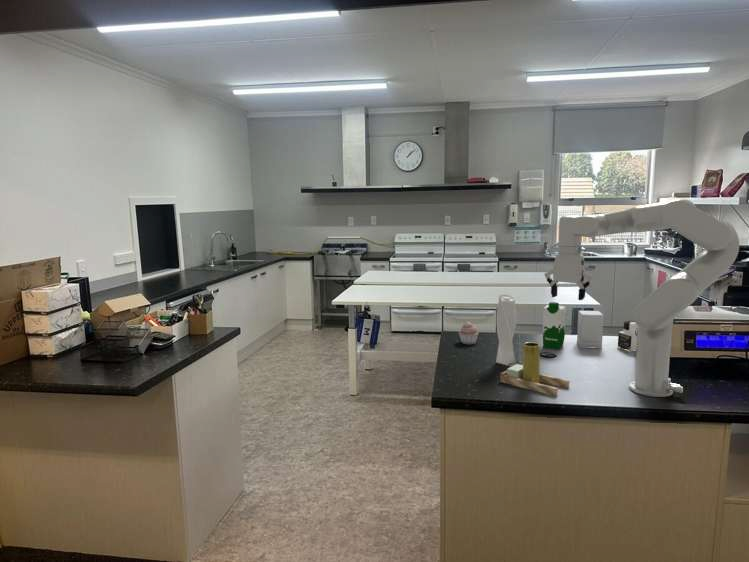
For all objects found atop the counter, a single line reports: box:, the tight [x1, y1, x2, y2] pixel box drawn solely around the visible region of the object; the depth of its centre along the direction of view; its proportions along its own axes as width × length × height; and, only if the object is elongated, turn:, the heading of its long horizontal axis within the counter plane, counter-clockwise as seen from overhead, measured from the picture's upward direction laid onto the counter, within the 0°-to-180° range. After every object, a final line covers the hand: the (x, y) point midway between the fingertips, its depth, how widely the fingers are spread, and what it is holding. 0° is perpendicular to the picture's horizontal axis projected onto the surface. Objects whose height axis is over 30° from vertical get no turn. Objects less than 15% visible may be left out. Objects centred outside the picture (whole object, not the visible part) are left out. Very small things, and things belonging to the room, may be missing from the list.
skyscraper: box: [495, 294, 522, 368], centre depth 190 cm, size 8×8×28 cm
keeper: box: [506, 364, 523, 379], centre depth 173 cm, size 4×7×4 cm, turn 136°
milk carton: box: [542, 301, 566, 351], centre depth 212 cm, size 9×9×20 cm
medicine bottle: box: [617, 320, 638, 352], centre depth 208 cm, size 7×7×12 cm
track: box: [499, 369, 571, 397], centre depth 168 cm, size 20×10×3 cm, turn 46°
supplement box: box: [576, 310, 604, 349], centre depth 213 cm, size 9×9×15 cm
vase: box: [522, 341, 541, 384], centre depth 168 cm, size 6×6×14 cm
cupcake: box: [458, 321, 480, 345], centre depth 222 cm, size 9×9×10 cm
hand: (567, 298), depth 175 cm, fingers open, 9 cm apart
